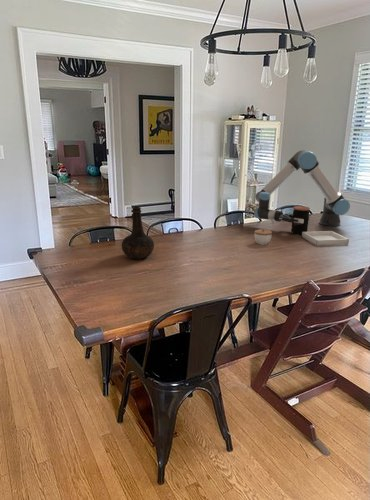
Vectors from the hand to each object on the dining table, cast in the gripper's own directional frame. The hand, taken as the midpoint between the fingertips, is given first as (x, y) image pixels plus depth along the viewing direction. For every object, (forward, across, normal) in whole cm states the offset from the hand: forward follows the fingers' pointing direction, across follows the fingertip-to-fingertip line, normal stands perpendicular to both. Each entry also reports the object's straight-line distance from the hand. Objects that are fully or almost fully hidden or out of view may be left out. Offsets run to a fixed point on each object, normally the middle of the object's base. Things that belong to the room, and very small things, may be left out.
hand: (306, 219), depth 254 cm
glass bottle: (-56, +106, -10) cm, 121 cm away
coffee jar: (-4, 0, -10) cm, 11 cm away
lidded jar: (-13, +39, -10) cm, 42 cm away
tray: (+16, +8, -10) cm, 20 cm away
